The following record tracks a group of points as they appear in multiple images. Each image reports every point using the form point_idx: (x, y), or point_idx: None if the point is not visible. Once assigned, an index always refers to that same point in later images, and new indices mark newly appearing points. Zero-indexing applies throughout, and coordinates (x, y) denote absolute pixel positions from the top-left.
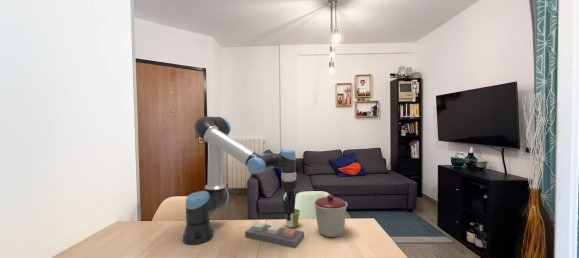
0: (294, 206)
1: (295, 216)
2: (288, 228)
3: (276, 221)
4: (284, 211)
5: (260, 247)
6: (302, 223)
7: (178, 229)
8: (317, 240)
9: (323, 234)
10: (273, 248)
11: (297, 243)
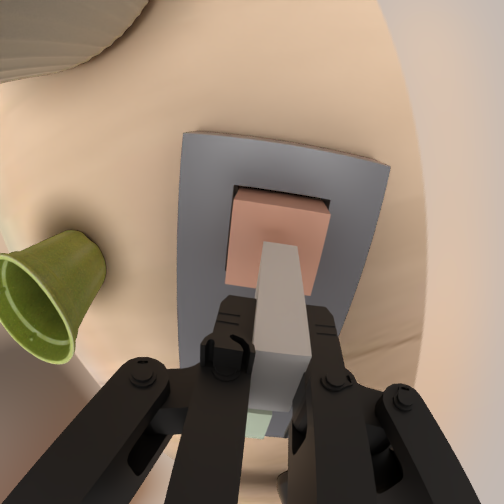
0: (107, 414)
1: (48, 272)
2: (230, 273)
3: (85, 347)
4: (394, 462)
5: (380, 344)
6: (33, 212)
7: (280, 499)
8: (215, 28)
9: (143, 7)
10: (389, 286)
11: (335, 151)
